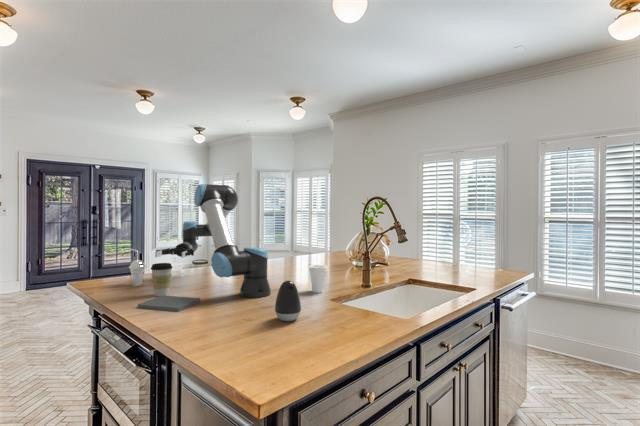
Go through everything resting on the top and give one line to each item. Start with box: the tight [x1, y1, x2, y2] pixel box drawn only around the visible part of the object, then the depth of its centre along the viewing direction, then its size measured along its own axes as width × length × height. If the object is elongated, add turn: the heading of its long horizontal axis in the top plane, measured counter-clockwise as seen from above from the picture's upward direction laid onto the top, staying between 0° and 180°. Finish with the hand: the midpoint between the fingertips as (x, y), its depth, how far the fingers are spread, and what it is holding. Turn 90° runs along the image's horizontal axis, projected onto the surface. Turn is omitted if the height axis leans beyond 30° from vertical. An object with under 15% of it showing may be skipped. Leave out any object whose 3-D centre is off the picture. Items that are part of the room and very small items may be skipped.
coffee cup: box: [150, 262, 173, 297], centre depth 172 cm, size 10×10×15 cm
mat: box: [137, 295, 201, 312], centre depth 155 cm, size 20×16×2 cm
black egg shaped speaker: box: [274, 280, 302, 322], centre depth 137 cm, size 10×10×15 cm
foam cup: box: [308, 264, 328, 294], centre depth 182 cm, size 10×9×13 cm
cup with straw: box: [128, 248, 147, 287], centre depth 193 cm, size 8×9×20 cm
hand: (169, 254), depth 182 cm, fingers open, 13 cm apart
